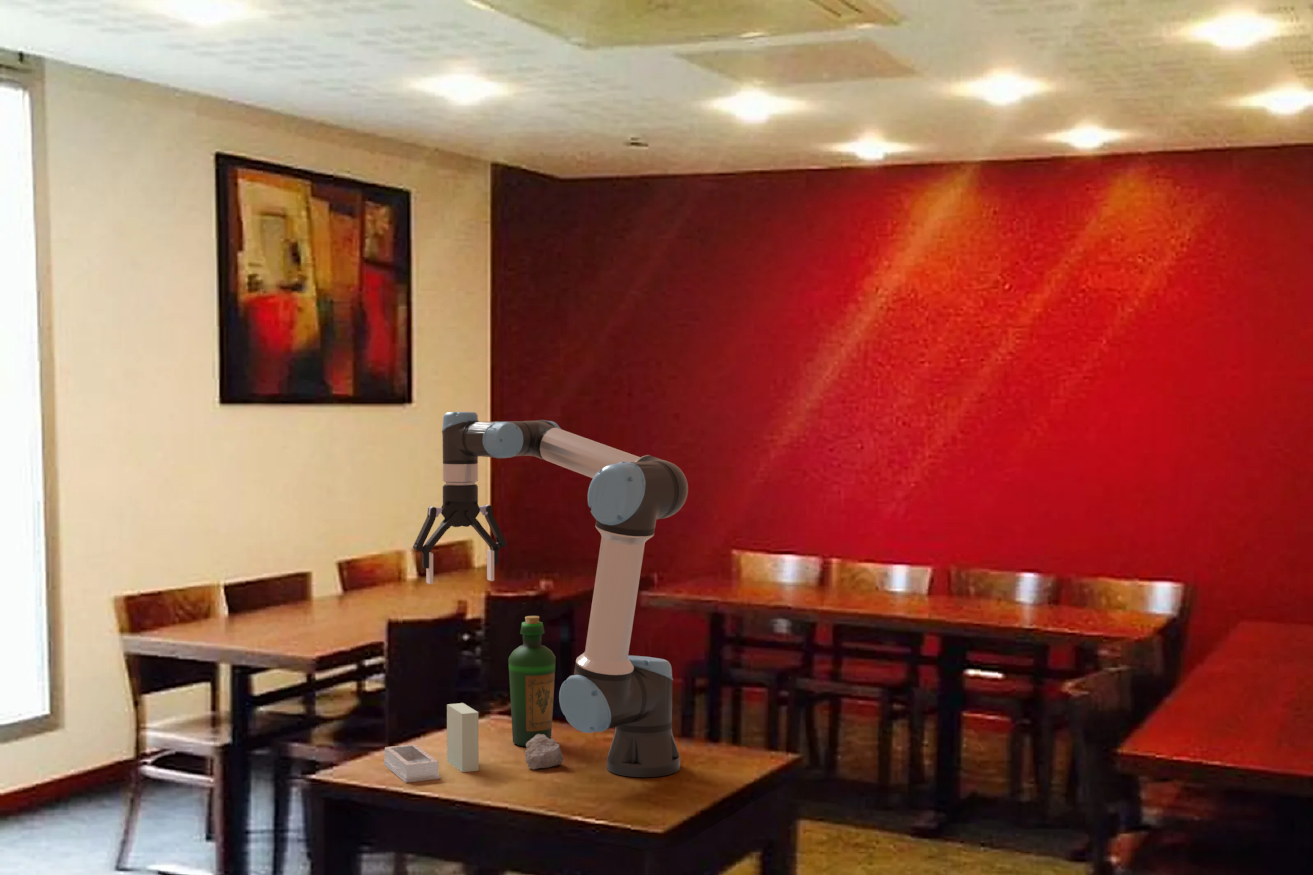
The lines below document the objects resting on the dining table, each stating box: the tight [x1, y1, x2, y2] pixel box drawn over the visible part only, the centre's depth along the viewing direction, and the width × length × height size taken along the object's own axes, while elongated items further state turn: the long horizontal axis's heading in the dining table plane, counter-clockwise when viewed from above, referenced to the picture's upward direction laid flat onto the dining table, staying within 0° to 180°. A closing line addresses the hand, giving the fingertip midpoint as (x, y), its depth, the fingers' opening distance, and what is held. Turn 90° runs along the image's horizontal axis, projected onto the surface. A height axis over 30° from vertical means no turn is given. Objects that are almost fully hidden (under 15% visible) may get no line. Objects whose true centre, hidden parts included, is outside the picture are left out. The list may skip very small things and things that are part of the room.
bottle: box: [507, 615, 557, 748], centre depth 327 cm, size 11×11×28 cm
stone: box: [524, 734, 564, 770], centre depth 309 cm, size 10×8×6 cm
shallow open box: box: [383, 743, 440, 784], centre depth 303 cm, size 16×7×4 cm, turn 26°
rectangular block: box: [446, 702, 480, 773], centre depth 308 cm, size 10×4×12 cm, turn 26°
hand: (460, 582), depth 320 cm, fingers open, 13 cm apart
